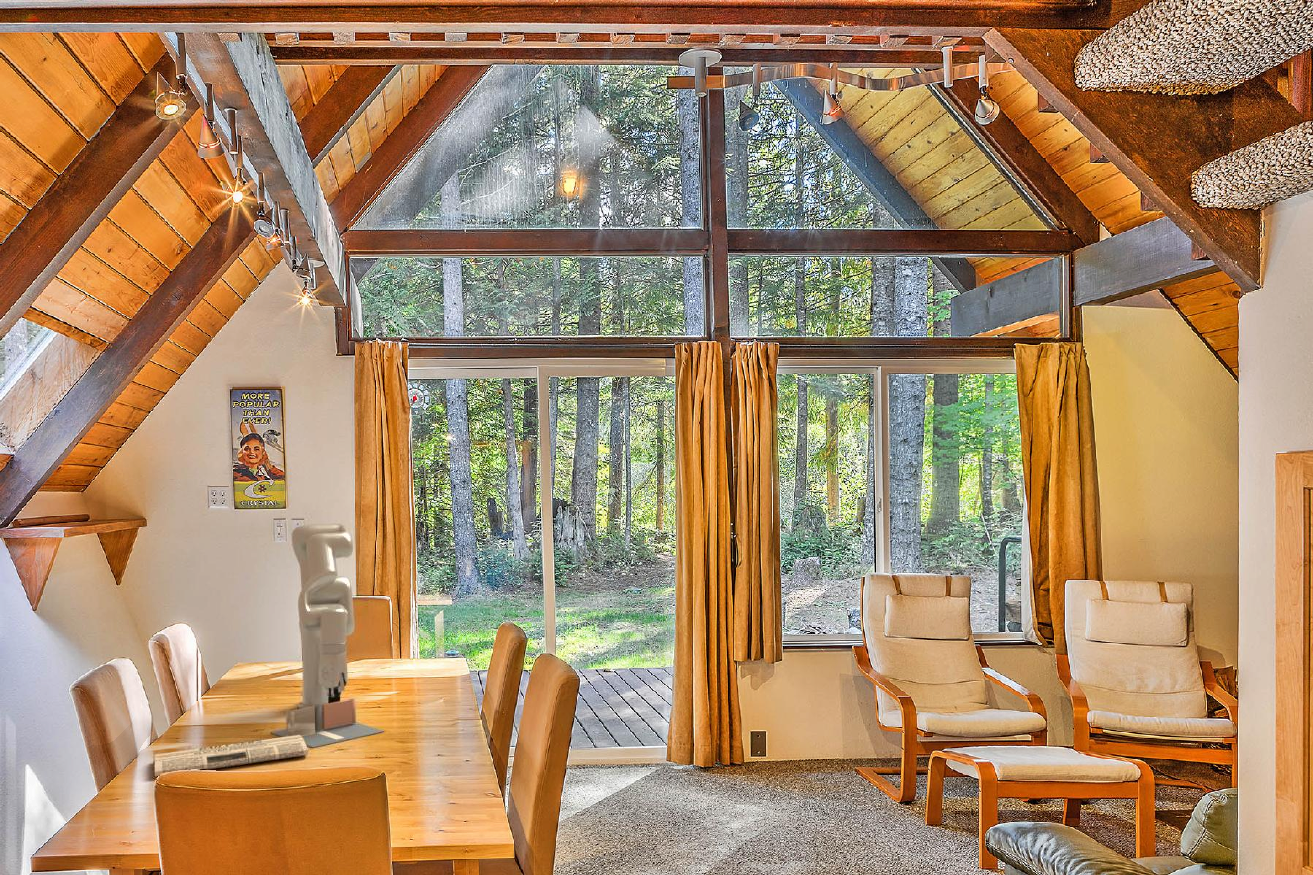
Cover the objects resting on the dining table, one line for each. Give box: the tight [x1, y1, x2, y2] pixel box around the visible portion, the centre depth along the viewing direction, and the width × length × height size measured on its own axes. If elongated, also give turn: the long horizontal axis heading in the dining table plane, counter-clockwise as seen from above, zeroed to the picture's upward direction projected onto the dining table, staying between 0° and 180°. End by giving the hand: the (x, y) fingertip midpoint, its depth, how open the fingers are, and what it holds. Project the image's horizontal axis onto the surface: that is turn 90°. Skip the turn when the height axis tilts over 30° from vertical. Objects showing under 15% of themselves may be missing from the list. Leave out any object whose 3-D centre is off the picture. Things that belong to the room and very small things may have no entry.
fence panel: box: [315, 698, 357, 731], centre depth 300 cm, size 13×2×7 cm, turn 136°
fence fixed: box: [285, 707, 315, 737], centre depth 292 cm, size 2×8×8 cm, turn 136°
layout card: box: [270, 721, 385, 749], centre depth 296 cm, size 26×24×1 cm
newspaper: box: [154, 735, 309, 778], centre depth 270 cm, size 37×19×3 cm, turn 117°
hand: (334, 709), depth 306 cm, fingers closed
